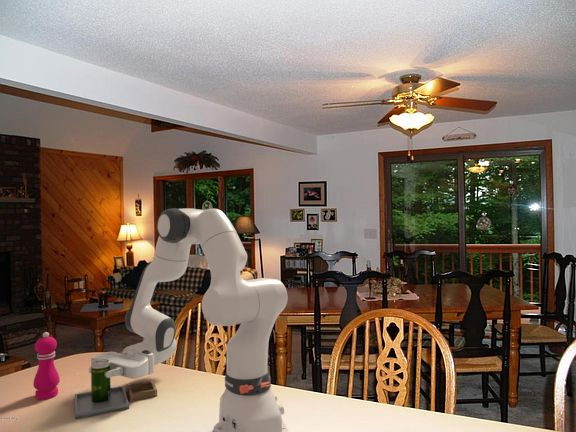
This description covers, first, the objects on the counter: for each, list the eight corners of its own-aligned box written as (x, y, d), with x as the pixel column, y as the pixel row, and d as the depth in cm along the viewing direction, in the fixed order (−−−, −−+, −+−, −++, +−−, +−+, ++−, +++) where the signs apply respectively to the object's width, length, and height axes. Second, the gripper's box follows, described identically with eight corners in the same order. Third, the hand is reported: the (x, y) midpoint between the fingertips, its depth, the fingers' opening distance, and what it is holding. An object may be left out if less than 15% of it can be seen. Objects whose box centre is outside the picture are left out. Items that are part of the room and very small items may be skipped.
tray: (129, 408, 129) (128, 403, 129) (75, 419, 123) (75, 413, 123) (123, 390, 142) (123, 385, 142) (74, 399, 136) (74, 394, 136)
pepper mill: (48, 401, 134) (47, 336, 134) (28, 399, 136) (26, 334, 135) (65, 391, 141) (63, 329, 141) (45, 389, 143) (44, 328, 142)
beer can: (111, 396, 136) (111, 358, 136) (109, 404, 131) (109, 364, 130) (92, 398, 134) (92, 359, 134) (90, 406, 129) (89, 366, 129)
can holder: (157, 395, 138) (157, 389, 138) (130, 401, 134) (130, 394, 134) (153, 386, 145) (152, 380, 145) (127, 391, 141) (127, 384, 141)
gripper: (112, 344, 149) (75, 356, 137) (157, 354, 139) (121, 368, 127) (112, 362, 149) (75, 376, 137) (157, 374, 139) (121, 390, 127)
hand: (97, 372), depth 132 cm, fingers closed on beer can, 5 cm apart
